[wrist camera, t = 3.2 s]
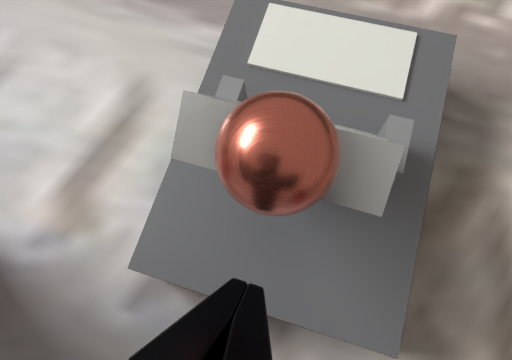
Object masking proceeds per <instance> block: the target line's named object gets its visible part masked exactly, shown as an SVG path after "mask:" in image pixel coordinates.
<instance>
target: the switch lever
mask: <svg viewBox="0 0 512 360" xmlns="http://www.w3.org/2000/svg"><path fill="white" fill-rule="evenodd" d="M404 147H405V145H402V144H399V143H397V142H394V141H391V140H388V139H385V138H383V137H380V136H377V135H374V134H372V133H370V132H366V131H362V130H358V129H354V128H350V127H346V126H342V125H338V124H334V123H333V122H332V121H331V119H330V118H329V116H328V115H327V114H326V113H325V111H324V110H323V109H322V108H321V107H320V106H318V105H317V104H316V103H315V102H313V101H312V100H310V99H309V98H307V97H304V96H302V95H300V94H297V93H293V92H288V91H267V92H263V93H259V94H256V95H254V96H251V97H249V98H247V99H246V100H244V101H243V102H241V101H236V100H230V99H225V98H220V97H215V96H209V95H204V94H199V93H194V92H188V91H183V96H182V102H181V107H180V112H179V117H178V122H177V128H176V133H175V138H174V143H173V149H172V154H171V158H173V159H176V160H180V161H184V162H187V163H191V164H194V165H198V166H201V167H205V168H209V169H212V170H216V171H217V172H218V175H219V177H220V180H221V182H222V184H223V186H224V187H225V189H226V190H227V192H228V193H229V194H230V195H231V196H232V197H233V198H234V199H235V200H236V201H237V202H238V203H239V204H241V205H242V206H244V207H245V208H247V209H249V210H251V211H253V212H256V213H258V214H262V215H266V216H275V217H277V216H288V215H293V214H296V213H299V212H302V211H304V210H306V209H308V208H310V207H311V206H313V205H314V204H316V203H317V202H318V201H319V200H323V201H327V202H330V203H334V204H337V205H341V206H344V207H348V208H352V209H355V210H359V211H362V212H366V213H370V214H373V215H377V216H380V217H382V215H383V211H384V208H385V205H386V202H387V199H388V196H389V193H390V190H391V187H392V184H393V181H394V178H395V175H396V172H397V169H398V166H399V163H400V160H401V157H402V154H403V151H404Z"/></svg>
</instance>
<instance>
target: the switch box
mask: <svg viewBox="0 0 512 360" xmlns="http://www.w3.org/2000/svg"><path fill="white" fill-rule="evenodd" d="M456 38H457V35H452V34H447V33H442V32H437V31H432V30H427V29H422V28H417V27H412V26H407V25H402V24H397V23H392V22H387V21H382V20H377V19H372V18H367V17H362V16H357V15H352V14H347V13H342V12H337V11H332V10H327V9H322V8H317V7H312V6H307V5H302V4H297V3H292V2H287V1H282V0H235V1H234V4H233V6H232V9H231V11H230V14H229V16H228V19H227V21H226V24H225V26H224V29H223V31H222V34H221V36H220V39H219V41H218V44H217V46H216V49H215V51H214V54H213V56H212V59H211V61H210V64H209V66H208V69H207V71H206V74H205V76H204V79H203V81H202V84H201V86H200V89H199V91H198V93H199V94H204V95H209V96H215V97H220V98H225V99H230V100H236V101H241V102H243V101H244V100H246V99H247V98H249V97H251V96H254V95H256V94H259V93H263V92H267V91H288V92H293V93H297V94H300V95H302V96H304V97H307V98H309V99H310V100H312V101H313V102H315V103H316V104H317V105H318V106H320V107H321V108H322V109H323V110H324V111H325V113H326V114H327V115H328V116H329V118H330V119H331V121H332V122H333V123H334V124H338V125H342V126H346V127H350V128H354V129H358V130H362V131H366V132H370V133H372V134H374V135H377V136H380V137H383V138H385V139H388V140H391V141H394V142H397V143H399V144H402V145H405V147H404V151H403V154H402V157H401V160H400V163H399V166H398V169H397V172H396V175H395V178H394V181H393V184H392V187H391V190H390V193H389V196H388V199H387V202H386V205H385V208H384V211H383V215H382V217H380V216H377V215H373V214H370V213H366V212H362V211H359V210H355V209H352V208H348V207H344V206H341V205H337V204H334V203H330V202H327V201H323V200H319V201H318V202H317V203H316V204H314V205H313V206H311V207H310V208H308V209H306V210H304V211H302V212H299V213H296V214H293V215H288V216H277V217H275V216H266V215H262V214H258V213H256V212H253V211H251V210H249V209H247V208H245V207H244V206H242V205H241V204H239V203H238V202H237V201H236V200H235V199H234V198H233V197H232V196H231V195H230V194H229V193H228V192H227V190H226V189H225V187H224V186H223V184H222V182H221V180H220V177H219V175H218V172H217V171H216V170H212V169H209V168H205V167H201V166H198V165H194V164H191V163H187V162H184V161H180V160H176V159H173V158H172V159H171V161H170V164H169V166H168V168H167V171H166V173H165V176H164V178H163V181H162V183H161V186H160V188H159V191H158V193H157V196H156V198H155V201H154V203H153V206H152V208H151V211H150V213H149V216H148V218H147V221H146V223H145V226H144V228H143V231H142V233H141V236H140V238H139V241H138V243H137V246H136V248H135V251H134V253H133V256H132V258H131V261H130V263H129V266H128V269H131V270H134V271H137V272H140V273H143V274H146V275H149V276H152V277H155V278H158V279H161V280H163V281H166V282H169V283H172V284H175V285H178V286H181V287H184V288H187V289H190V290H193V291H196V292H199V293H202V294H205V295H208V296H210V295H211V294H212V293H213V292H215V291H216V290H217V289H218V288H220V287H221V286H222V285H224V284H225V283H226V282H227V281H229V280H230V279H232V278H237V279H240V280H243V281H246V282H247V285H248V284H249V283H252V284H255V285H258V286H261V287H263V289H264V294H265V302H266V311H267V315H268V316H271V317H274V318H277V319H280V320H283V321H286V322H289V323H292V324H295V325H298V326H301V327H304V328H307V329H310V330H313V331H316V332H319V333H322V334H325V335H328V336H331V337H334V338H337V339H340V340H343V341H345V342H348V343H351V344H354V345H357V346H360V347H363V348H366V349H369V350H372V351H375V352H378V353H381V354H384V355H387V356H390V357H393V358H396V359H398V355H399V349H400V344H401V338H402V333H403V327H404V322H405V316H406V311H407V305H408V300H409V294H410V289H411V284H412V278H413V273H414V267H415V262H416V256H417V251H418V245H419V240H420V234H421V229H422V223H423V218H424V212H425V207H426V202H427V196H428V191H429V185H430V180H431V174H432V169H433V163H434V158H435V152H436V147H437V141H438V136H439V131H440V125H441V120H442V114H443V109H444V103H445V98H446V92H447V87H448V81H449V76H450V70H451V65H452V59H453V54H454V49H455V43H456Z"/></svg>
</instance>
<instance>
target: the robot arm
mask: <svg viewBox="0 0 512 360" xmlns="http://www.w3.org/2000/svg"><path fill="white" fill-rule="evenodd" d="M129 360H272V353H271V344H270V336H269V327H268V319H267V311H266V302H265V294H264V289H263V287H261V286H258V285H255V284H252V283H249V284H248V285H247V282H246V281H243V280H240V279H237V278H232V279H230V280H229V281H227V282H226V283H225V284H224V285H222V286H221V287H220V288H218V289H217V290H216V291H215V292H213V293H212V294H211V295H210V296H208V297H207V298H206V299H204V300H203V301H202V302H201V303H199V304H198V305H197V306H195V307H194V308H193V309H192V310H190V311H189V312H188V313H186V314H185V315H184V316H183V317H181V318H180V319H179V320H177V321H176V322H175V323H174V324H172V325H171V326H170V327H168V328H167V329H166V330H165V331H163V332H162V333H161V334H159V335H158V336H157V337H156V338H154V339H153V340H152V341H150V342H149V343H148V344H147V345H145V346H144V347H143V348H141V349H140V350H139V351H138V352H136V353H135V354H134V355H132V356H131V357H130V358H129Z"/></svg>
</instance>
